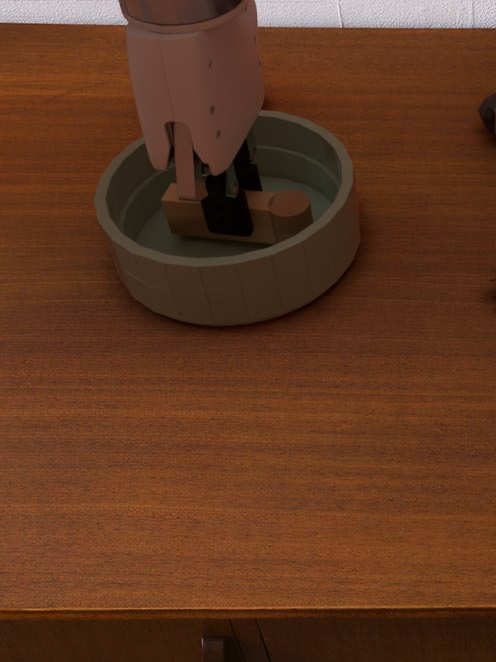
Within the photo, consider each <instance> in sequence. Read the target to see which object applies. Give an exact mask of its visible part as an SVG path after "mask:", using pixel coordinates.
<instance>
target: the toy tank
mask: <svg viewBox="0 0 496 662" xmlns="http://www.w3.org/2000/svg"><path fill="white" fill-rule="evenodd" d="M477 112H478V115H479V117H480V121H481V122H482V126H483V127H484V128H485V130H486V131H487V132H488V134H490V135H491V136H493V137H494V138H495V139H496V92H494V93H493V94H490V95H488V96H486V97H485V98H484V99H483V100H482V102H481V103H480V105H479V108H478V109H477Z"/></svg>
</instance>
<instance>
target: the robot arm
mask: <svg viewBox="0 0 496 662" xmlns="http://www.w3.org/2000/svg"><path fill="white" fill-rule="evenodd" d="M118 3H119V9H120V11H121V14H122V16H123V18H124V19H125V20H126V21H127V24H126V27H125V29H124V30H125V31H124V32H125V44H126V53H127V63H128V70H129V76H130V81H131V87H132V92H133V97H134V101H135V105H136V111H137V115H138V119H139V124H140V127H141V132H142V137H143V136H144V140H145V144H146V148H147V151H148V155H149V158H150V161H151V163H152V165H153V167H154V168H155V169H156V170H159V171H161V170H165V171H166V170H167V169H168V167H169V166H170V164H171V162H172V161H173V159H174V158H175V165H176V179H177V194H178V198H179V200H183V201H193V202H200V201H201V205H202V209H203V213H204V216H205V220H206V224H207V228H208V230H209V231H210V232H211V233H214V234H224V235H233V236H243V237H250V236H251V234H252V232H253V230H254V229H253V224H252V220H251V215H250V211H249V206H248V202H247V197H246V193H245V190H249V191H261V192H263V191H262V186H261V181H260V176H259V172H258V167H257V164H250V162H255V160H256V157H257V149H256V144H255V139H254V134H253V129H252V127H253V125H254V121H255V119H256V117H257V116H258V114H259V112H260V110H262V107H263V105H264V101H265V97H266V96H265V94H266V91H265V80H264V74H263V73H264V72H263V65H262V62H261V61H262V60H261V56H260V50H259V51H258V46H257V42H256V38H255V33H254V29H253V25H252V22H251V18H250V14H249V11H248V7H247V5H248V3H249V0H118ZM203 167H204V168H210V169H209V170H208V171H209V172H211V173H212V175H211V174H205V172H204V168H203Z"/></svg>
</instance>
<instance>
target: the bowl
mask: <svg viewBox="0 0 496 662" xmlns="http://www.w3.org/2000/svg"><path fill="white" fill-rule="evenodd" d="M252 129H253V134H254V139H255V144H256V149H257V157H256V160H255V162H250V164H257V167H258V172H259V176H260V181H261V186H262V191H263V192H272V193H278V192H281V191H285V190H297V191H301V192H303V193H305V194H306V195H307V196H308V197H309V199H310V205H311V210H312V216H313V222H314V223H313V224H311V225H310V226H308V227H307V228H306V229H304V230H303V231H301V232H300V233H298V234H297V235H296V236H293V237H291V238H289V239H287V240H284V241H282V242H280V243H277V244H267V243H257V242H246V241H236V240H226V239H216V238H206V237H196V236H186V235H176V234H171V231H170V227H169V224H168V221H167V218H166V215H165V211H164V208H163V205H162V202H161V199H162V197H163V196H164V194H165V192H166V191H167V189H168V187H169V186H170V184H171V183H177V179H176V165H175V158H174V159H173V161H172V162H171V164H170V166H169V167H168V169H167V170H166V171H165V170H161V171H159V170H156V169H155V168H154V167H153V165H152V163H151V161H150V158H149V155H148V151H147V148H146V144H145V140H144V136H143V135H142V136H141V137H139V138H137V139H135V140H134V141H132V142H131V143H130V144H129V145H127V146H126V147H125V148H123V150H122V151H120V152H119V153H118V154H117V155H115V156H114V157H113V158H112V160H111V161H110V163H109V164H108V165H107V167H106V168H105V170H104V172H103V173H102V174H101V176H100V177H99V179H98V182H97V185H96V190H95V194H94V198H93V203H94V210H95V214H96V220H97V223H98V225H99V228H100V230H101V233H102V236H103V239H104V241H105V244H106V247H107V249H108V252H109V255H110V257H111V260H112V263H113V266H114V269H115V271H116V274H117V277H118V278H119V280H120V282H121V283H122V285H123V287H125V289H126V290H127V292H128V293H129V294H130V296H131V297H132V298H133V299H134V300H136V301H138V302H139V303H141V304H142V305H143V306H144V307H146V308H147V309H149V310H150V311H152V312H154V313H156V314H159V315H162V316H165V317H168V318H171V319H173V320H177V321H179V322H183V323H187V324H193V325H199V326H209V327H232V326H233V327H234V326H243V325H250V324H255V323H256V324H257V323H260V322H265V321H269V320H272V319H275V318H279V317H281V316H284V315H286V314H289V313H291V312H294V311H297V310H299V309H300V308H302V307H304V306H306V305H308V304H309V303H312V301H314V300H316V299H317V298H318V297H320V296H322V295H324V293H325V292H327V291H328V290H329V289H331V287H333V285H335V284H336V283H337V282H338V281H339V280H340V278H341V277H342V276H343V275H344V273H345V272H346V271H347V269H349V267H350V266H351V265H352V263H353V262H354V260H355V257H356V254H357V251H358V249H359V246H360V244H361V240H362V239H361V237H362V236H361V235H362V234H361V216H360V209H359V202H358V194H357V186H356V185H357V184H356V177H355V169H354V162H353V161H352V159H351V157H350V155H349V152H348V150H347V149H346V146H345V145H344V143H342V141H340V140H339V139H338V138H337V136H335V135H334V134H333V133H332V132H331V131H330V130H328V129H327V128H325V127H323V126H321V125H320V124H317V123H315V122H313V121H312V120H310V119H308V118H305V117H301V116H298V115H294V114H290V113H286V112H283V111H278V110H267V109H260V112H259V114H258V116H257V117H256V119H255V121H254V125H253V127H252ZM203 168H204V167H203ZM209 169H210V168H204V172H205V174H211V175H212V173H211V172H209V171H208V170H209Z"/></svg>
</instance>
